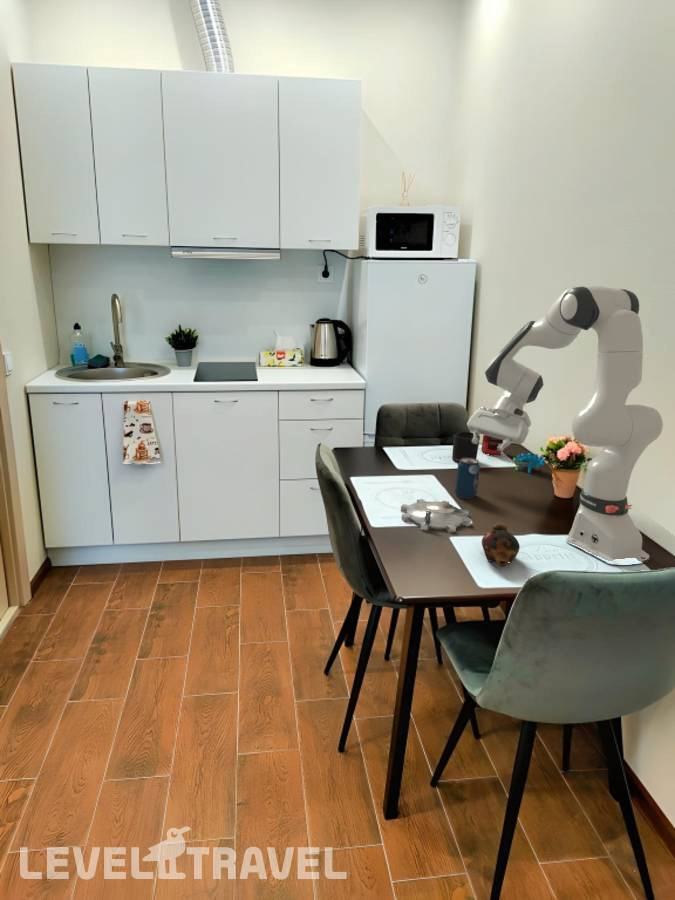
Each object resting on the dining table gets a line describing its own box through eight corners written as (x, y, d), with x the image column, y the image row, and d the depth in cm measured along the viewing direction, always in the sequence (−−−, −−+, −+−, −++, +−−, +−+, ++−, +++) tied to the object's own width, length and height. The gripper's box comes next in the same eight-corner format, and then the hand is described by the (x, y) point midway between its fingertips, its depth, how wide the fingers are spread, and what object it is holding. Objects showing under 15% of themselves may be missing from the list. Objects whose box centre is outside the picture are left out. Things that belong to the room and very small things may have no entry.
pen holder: (447, 457, 256) (450, 431, 253) (471, 456, 257) (474, 431, 254) (456, 465, 247) (459, 439, 244) (480, 465, 249) (483, 439, 246)
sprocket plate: (484, 529, 195) (486, 514, 193) (418, 535, 188) (420, 520, 186) (449, 501, 213) (451, 487, 212) (388, 506, 206) (389, 492, 205)
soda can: (478, 500, 216) (482, 464, 212) (456, 498, 216) (460, 463, 212) (473, 492, 222) (478, 457, 219) (452, 490, 222) (456, 456, 218)
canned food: (489, 448, 269) (492, 421, 266) (505, 454, 263) (509, 426, 260) (476, 451, 264) (480, 424, 261) (493, 457, 259) (497, 429, 255)
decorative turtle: (510, 547, 184) (516, 521, 181) (521, 577, 170) (528, 550, 167) (474, 542, 184) (480, 516, 181) (483, 573, 170) (489, 545, 167)
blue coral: (546, 465, 248) (544, 451, 240) (544, 479, 245) (542, 466, 237) (515, 463, 252) (512, 450, 244) (513, 478, 250) (510, 465, 242)
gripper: (475, 400, 229) (456, 433, 225) (531, 414, 216) (511, 449, 213) (481, 411, 234) (462, 443, 230) (535, 425, 221) (516, 459, 217)
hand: (486, 446), depth 221 cm, fingers open, 8 cm apart
